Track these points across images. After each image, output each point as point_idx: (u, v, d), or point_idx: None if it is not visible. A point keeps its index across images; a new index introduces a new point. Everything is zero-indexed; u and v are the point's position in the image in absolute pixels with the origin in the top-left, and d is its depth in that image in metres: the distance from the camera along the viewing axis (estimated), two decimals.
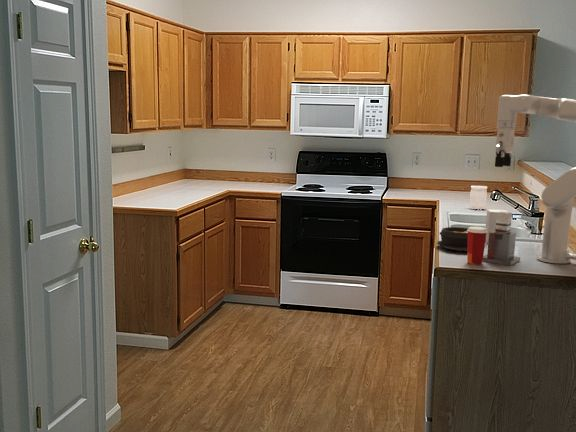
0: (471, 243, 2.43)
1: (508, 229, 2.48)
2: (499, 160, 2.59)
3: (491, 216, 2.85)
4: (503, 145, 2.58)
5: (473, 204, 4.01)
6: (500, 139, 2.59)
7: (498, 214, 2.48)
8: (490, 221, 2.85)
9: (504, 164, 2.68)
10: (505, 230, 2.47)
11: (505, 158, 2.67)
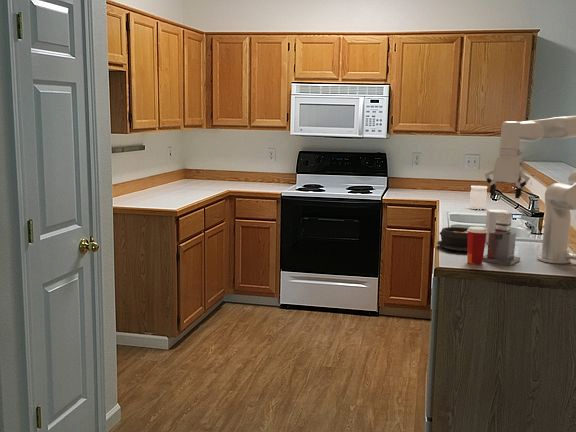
0: (471, 243, 2.43)
1: (508, 229, 2.48)
2: (520, 191, 2.44)
3: (491, 216, 2.85)
4: None
5: (473, 204, 4.01)
6: (520, 169, 2.43)
7: (498, 214, 2.48)
8: (490, 221, 2.85)
9: (493, 194, 2.50)
10: (505, 230, 2.47)
11: (494, 187, 2.50)
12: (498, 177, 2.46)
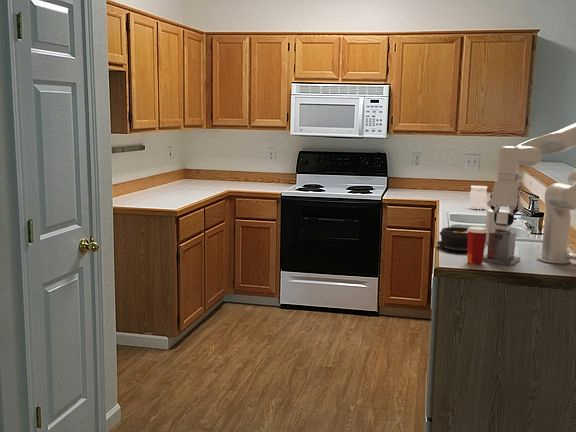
0: (471, 243, 2.43)
1: (508, 229, 2.48)
2: (513, 217, 2.47)
3: (491, 216, 2.85)
4: None
5: (473, 204, 4.01)
6: (518, 193, 2.44)
7: (498, 214, 2.48)
8: (490, 221, 2.85)
9: None
10: (505, 230, 2.47)
11: None
12: (497, 201, 2.48)
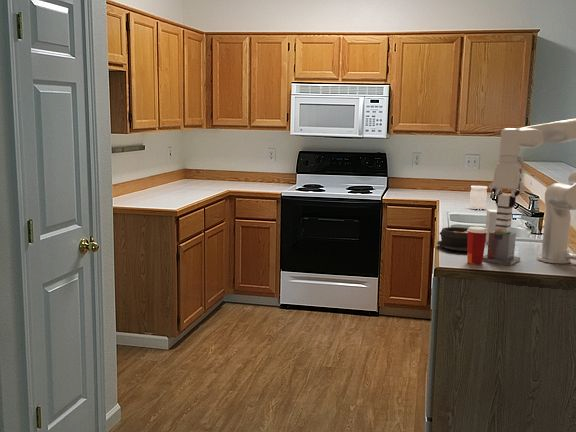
0: (471, 243, 2.43)
1: (510, 212, 2.47)
2: None
3: (491, 216, 2.85)
4: None
5: (473, 204, 4.01)
6: (520, 176, 2.43)
7: (499, 197, 2.47)
8: (490, 221, 2.85)
9: None
10: (507, 213, 2.46)
11: None
12: (498, 184, 2.47)
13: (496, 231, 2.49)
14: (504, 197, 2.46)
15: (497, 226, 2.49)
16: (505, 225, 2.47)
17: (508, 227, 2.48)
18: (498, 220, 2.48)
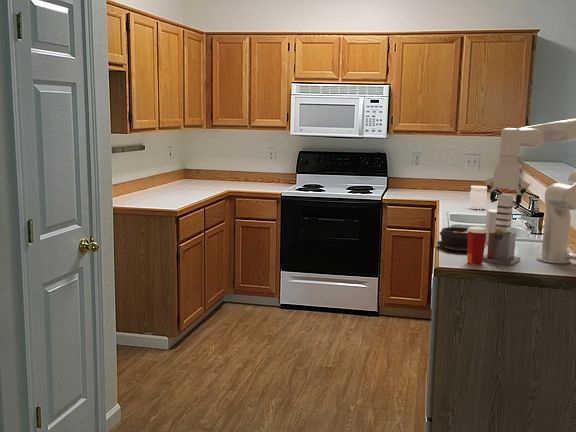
0: (471, 243, 2.43)
1: (510, 212, 2.47)
2: None
3: (491, 216, 2.85)
4: None
5: (473, 204, 4.01)
6: (520, 176, 2.43)
7: (499, 197, 2.47)
8: (490, 221, 2.85)
9: (493, 200, 2.50)
10: (507, 213, 2.46)
11: (494, 194, 2.50)
12: (498, 184, 2.47)
13: (496, 231, 2.49)
14: (504, 197, 2.46)
15: (497, 226, 2.49)
16: (505, 225, 2.47)
17: (508, 227, 2.48)
18: (498, 220, 2.48)
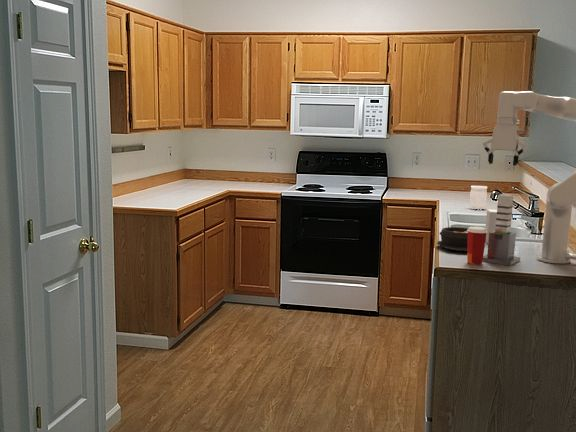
0: (471, 243, 2.43)
1: (510, 212, 2.47)
2: (518, 158, 2.54)
3: (491, 216, 2.85)
4: None
5: (473, 204, 4.01)
6: (517, 137, 2.53)
7: (499, 197, 2.47)
8: (490, 221, 2.85)
9: (491, 162, 2.59)
10: (507, 213, 2.46)
11: (492, 156, 2.59)
12: (496, 145, 2.56)
13: (496, 231, 2.49)
14: (504, 197, 2.46)
15: (497, 226, 2.49)
16: (505, 225, 2.47)
17: (508, 227, 2.48)
18: (498, 220, 2.48)
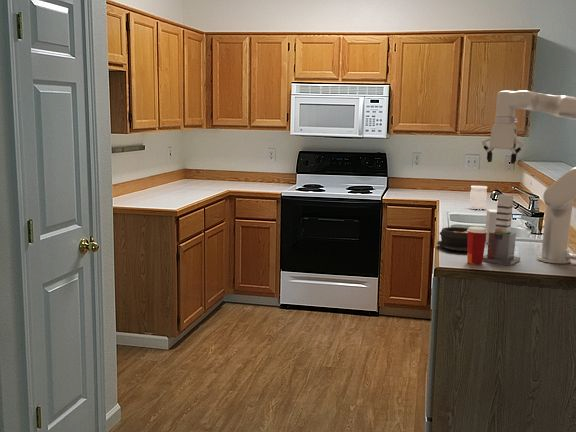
0: (471, 243, 2.43)
1: (510, 212, 2.47)
2: None
3: (491, 216, 2.85)
4: None
5: (473, 204, 4.01)
6: (515, 136, 2.58)
7: (499, 197, 2.47)
8: (490, 221, 2.85)
9: (490, 160, 2.65)
10: (507, 213, 2.46)
11: (490, 154, 2.64)
12: (494, 144, 2.61)
13: (496, 231, 2.49)
14: (504, 197, 2.46)
15: (497, 226, 2.49)
16: (505, 225, 2.47)
17: (508, 227, 2.48)
18: (498, 220, 2.48)
